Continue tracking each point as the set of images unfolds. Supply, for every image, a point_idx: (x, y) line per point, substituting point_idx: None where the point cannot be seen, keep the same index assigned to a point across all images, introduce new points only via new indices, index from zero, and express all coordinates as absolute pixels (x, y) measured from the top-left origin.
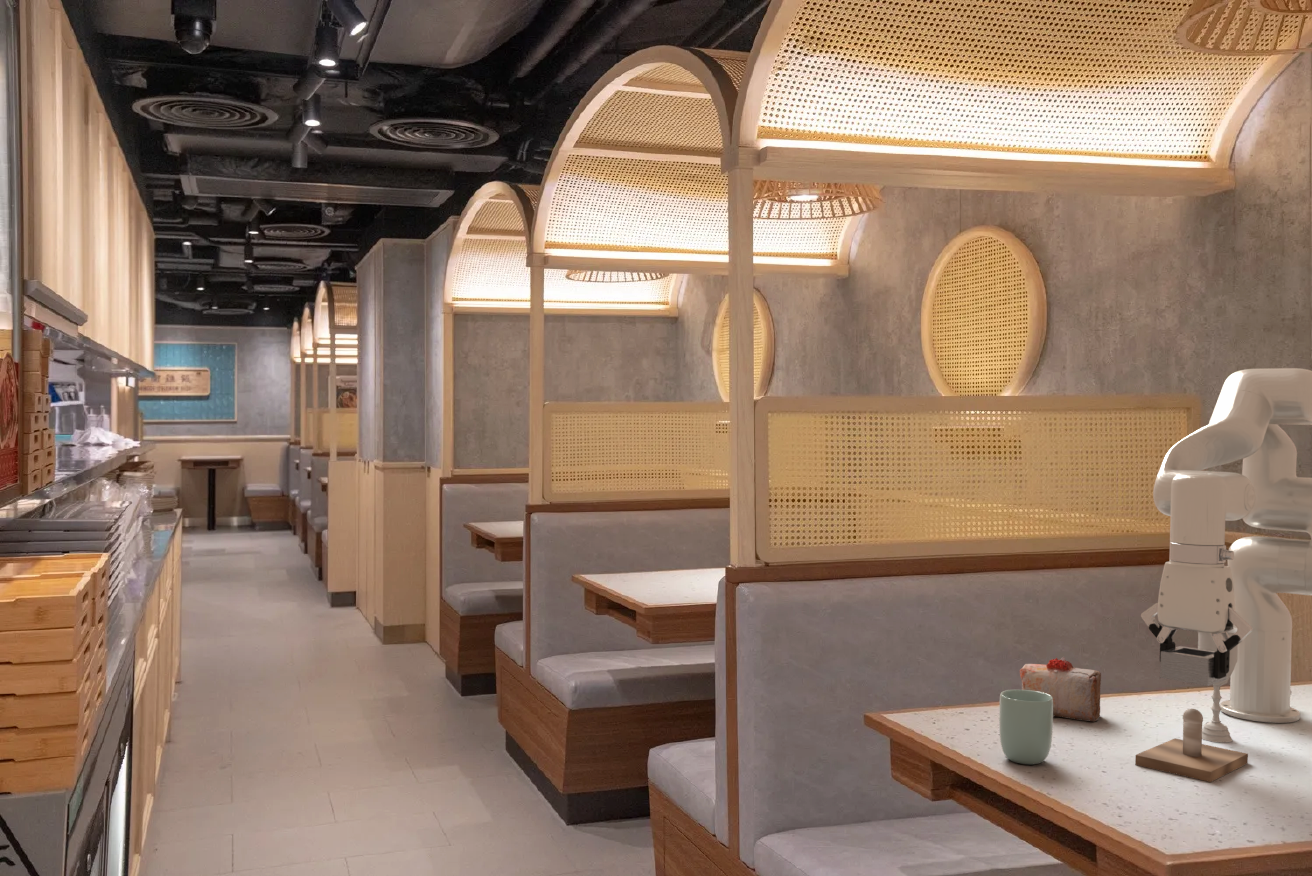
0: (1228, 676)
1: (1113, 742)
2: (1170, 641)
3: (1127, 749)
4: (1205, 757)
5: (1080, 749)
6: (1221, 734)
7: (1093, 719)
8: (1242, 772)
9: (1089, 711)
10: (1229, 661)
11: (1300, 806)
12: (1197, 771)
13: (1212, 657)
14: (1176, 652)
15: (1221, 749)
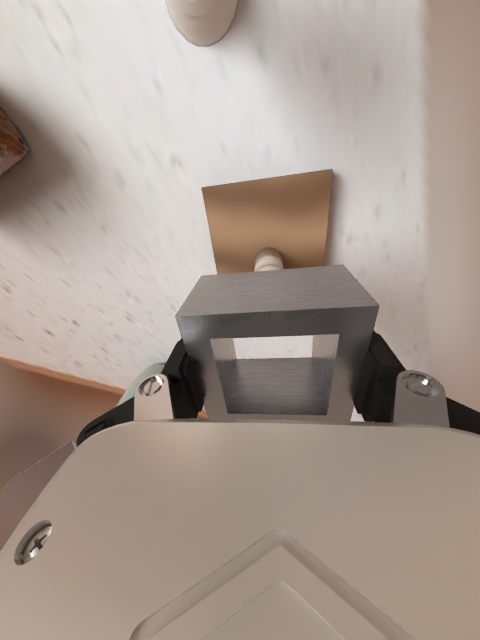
0: None
1: (144, 243)
2: (185, 398)
3: (178, 260)
4: (288, 259)
5: (154, 306)
6: (223, 5)
7: (25, 151)
8: (335, 231)
9: (11, 160)
10: (392, 352)
11: (425, 312)
12: None
13: (352, 411)
14: (243, 415)
15: (287, 187)
